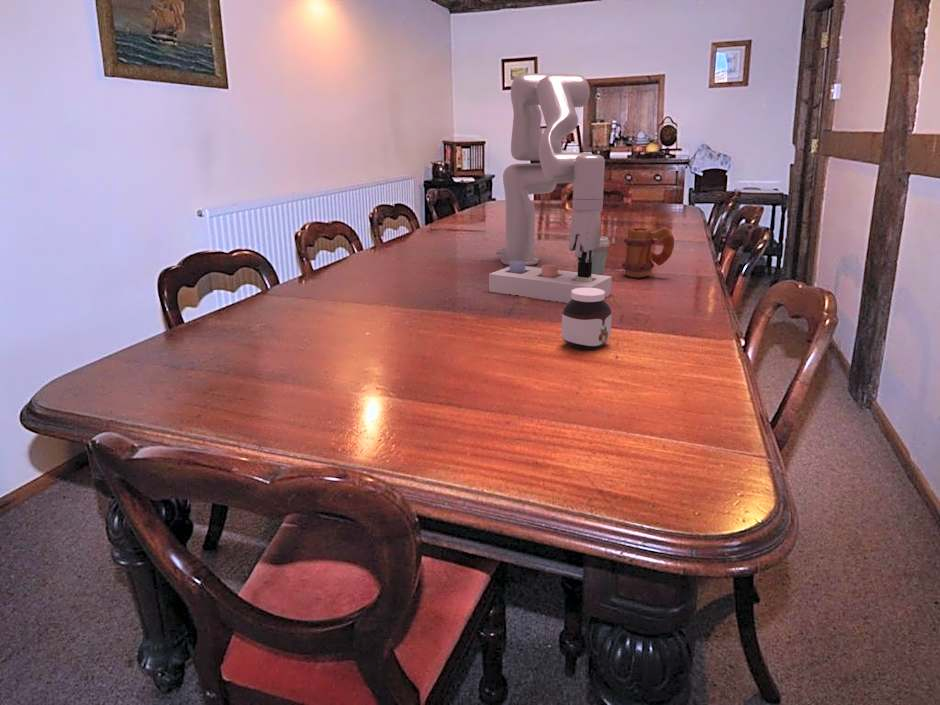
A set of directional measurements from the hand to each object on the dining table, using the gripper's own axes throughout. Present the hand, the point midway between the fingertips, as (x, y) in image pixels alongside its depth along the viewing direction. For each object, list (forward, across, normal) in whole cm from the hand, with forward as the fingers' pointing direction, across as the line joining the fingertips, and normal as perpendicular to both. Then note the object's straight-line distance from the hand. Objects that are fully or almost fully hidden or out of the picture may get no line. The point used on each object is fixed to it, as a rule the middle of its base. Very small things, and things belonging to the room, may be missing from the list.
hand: (584, 276), depth 173 cm
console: (+6, 0, -10) cm, 12 cm away
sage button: (+5, 0, 0) cm, 5 cm away
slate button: (+3, 0, -20) cm, 20 cm away
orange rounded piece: (+3, 0, -10) cm, 11 cm away
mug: (+6, -32, +6) cm, 33 cm away
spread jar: (+6, +34, +15) cm, 37 cm away
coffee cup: (+6, -23, -7) cm, 25 cm away
